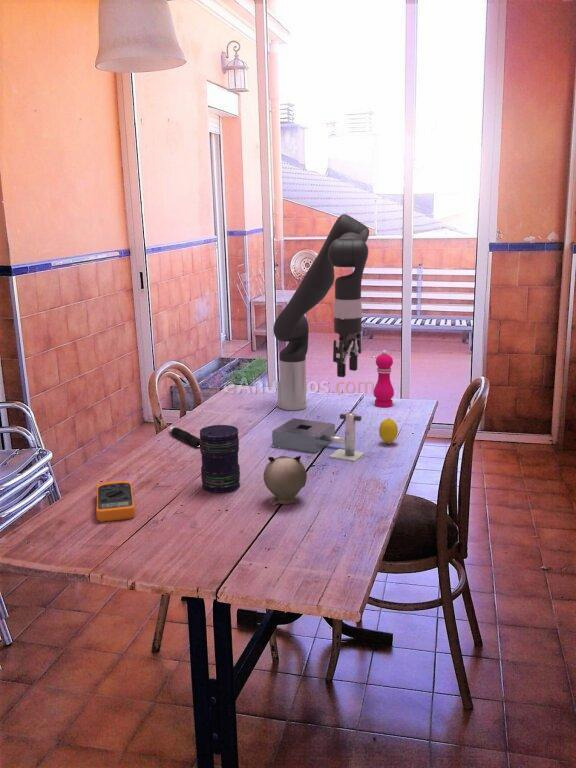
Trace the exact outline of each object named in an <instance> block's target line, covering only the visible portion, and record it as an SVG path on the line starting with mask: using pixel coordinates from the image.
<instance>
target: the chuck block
mask: <svg viewBox="0 0 576 768" xmlns="http://www.w3.org/2000/svg"><path fill="white" fill-rule="evenodd" d="M271 432H272V434H271V436H272V437H271V439H272V440H271V441H272V442H271V443H272V447H273V446H274V448H277V447H280V448H279V449H284V448H287V449H286V450H290V449H293V450H292V451H297V450H300V451H299V452H303V451H306V452H305V453H309V452H313V453H312V454H316V452H317V451H318V452H319V451H321V450H322V449H324V448H325V447H326V446H328V445H329V444H331V443H337V444H338V443H339V444H344V445H345V436H343V437H342V436H336V424H335V423H330V422H326V421H325V422H324V421H318V420H317V421H316V420H310V419H301V418H292V419H290V420H288V421H286V422H285V423H282V425H279V426H278V427H276V428H274V429H272V431H271ZM320 449H321V450H320ZM318 452H317V453H318Z"/></svg>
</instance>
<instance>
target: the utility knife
mask: <svg viewBox="0 0 576 768" xmlns="http://www.w3.org/2000/svg"><path fill="white" fill-rule="evenodd" d="M169 432H170V433H171V434H172V436H174V435H175V436H177V437H179V438H180V439H179V438H178V439H179V440H181V439H182V440H181V441H183V440H184V441H183V442H185V441H186V442H187V443H186V442H185V443H186V444H188V445H190V446H192V445H193V446H192V447H195V448H197V446H199V445H200V437H197V436H195V435H193V434H191V433H190V432H188V431H186V430H183V429H181V428H180V427H175V425H174V426H173V425H172V426H169ZM175 436H174V437H175ZM177 437H176V438H177Z"/></svg>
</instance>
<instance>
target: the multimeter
mask: <svg viewBox="0 0 576 768" xmlns="http://www.w3.org/2000/svg"><path fill="white" fill-rule="evenodd" d="M95 488H96V507H95V509H96V510H95V511H96V519H97V522H101V523H105V521H107V522H114V520H115V521H122V520H123V519H124V520H131V519H133V518H134V517H135V514H136V509H135V508H136V506H135V502H134V496H133V483H132V482H130V481H127V480H118V481H117V480H115V481H107V482H103V483H99V484H98V485H97V486H96V487H95Z"/></svg>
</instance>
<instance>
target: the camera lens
mask: <svg viewBox="0 0 576 768" xmlns="http://www.w3.org/2000/svg"><path fill="white" fill-rule="evenodd" d="M199 435H200V436H199V439H200V448H199V451H200V455H201V468H200V472H201V473H200V474H201V475H200V478H201V483H202V484H201V489H202V490H203V491H204V492H206V493H209V494H215V495H223V494H224V495H225V494H229V493H233V492H236V491H237V490H239V489H240V487H241V483H240V480H241V466H240V464H239V451H240V439H239V428H238V427H236V426H233V425H229V424H215V425H209V426H205V427H202V428H201V429H200V430H199ZM238 488H239V489H238ZM235 490H236V491H235Z"/></svg>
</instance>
